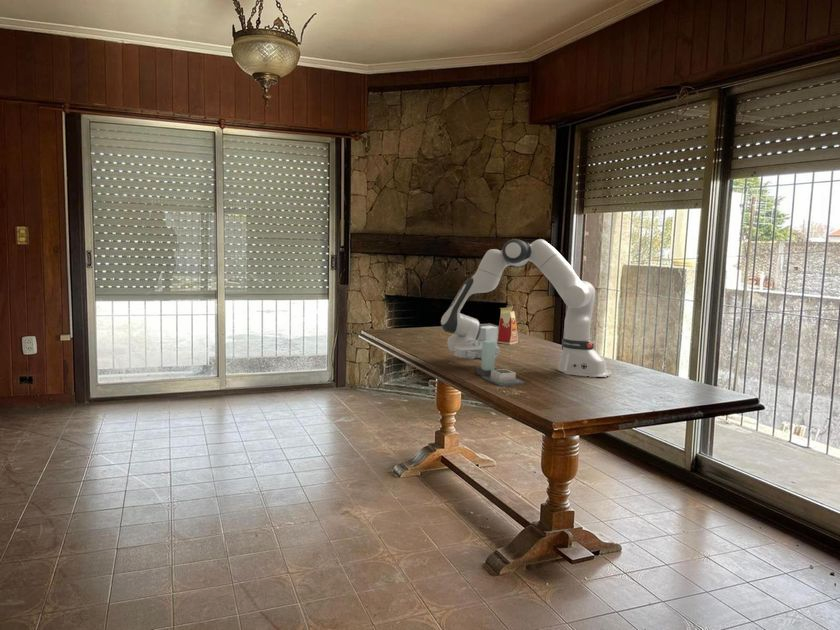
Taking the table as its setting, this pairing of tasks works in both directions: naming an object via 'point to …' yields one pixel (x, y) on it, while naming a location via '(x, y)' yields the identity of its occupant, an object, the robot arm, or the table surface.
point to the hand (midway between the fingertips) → (485, 354)
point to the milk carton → (507, 327)
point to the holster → (483, 371)
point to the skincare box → (488, 334)
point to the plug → (488, 355)
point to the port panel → (503, 378)
